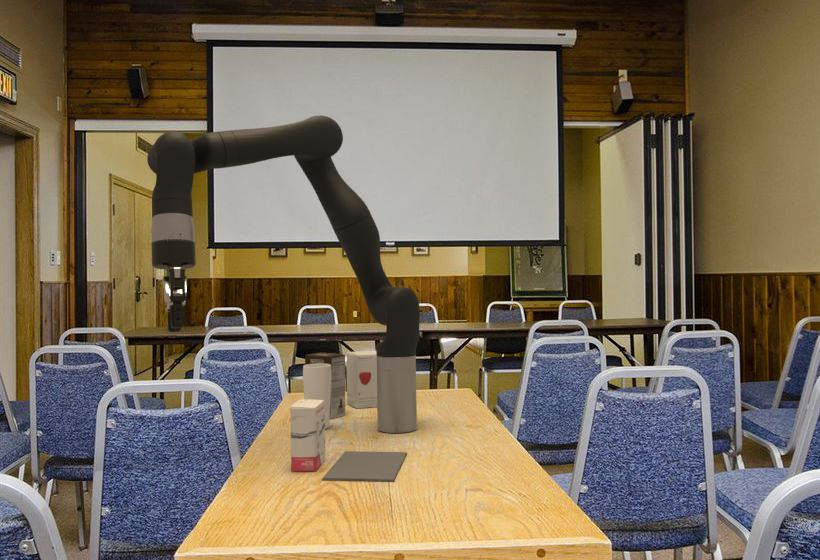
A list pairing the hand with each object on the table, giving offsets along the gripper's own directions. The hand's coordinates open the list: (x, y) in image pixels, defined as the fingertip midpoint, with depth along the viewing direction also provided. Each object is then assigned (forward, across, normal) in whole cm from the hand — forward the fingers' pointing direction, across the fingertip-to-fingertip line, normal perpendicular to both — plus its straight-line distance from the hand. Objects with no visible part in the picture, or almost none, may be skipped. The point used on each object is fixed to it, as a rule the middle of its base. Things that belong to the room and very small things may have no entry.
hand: (176, 329), depth 115 cm
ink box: (+27, -1, -23) cm, 35 cm away
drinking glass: (+23, +29, -33) cm, 50 cm away
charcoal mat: (+28, -6, -32) cm, 43 cm away
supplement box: (+20, +51, -54) cm, 77 cm away
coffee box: (+21, +43, -39) cm, 62 cm away
